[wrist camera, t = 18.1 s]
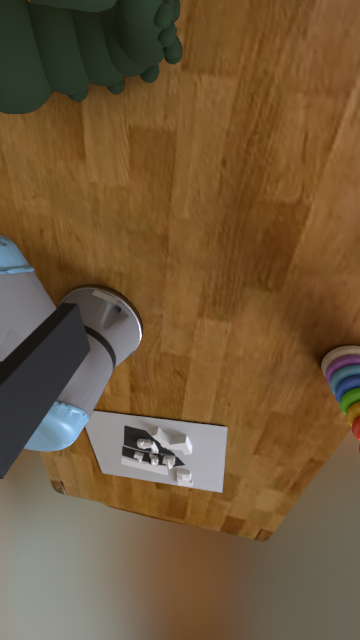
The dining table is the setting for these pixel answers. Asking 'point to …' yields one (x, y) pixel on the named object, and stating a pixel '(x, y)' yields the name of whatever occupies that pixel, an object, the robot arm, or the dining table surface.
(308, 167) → the dining table surface
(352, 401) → the stacking toy
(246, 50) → the dining table surface
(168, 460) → the architectural model
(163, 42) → the toy figurine
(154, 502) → the dining table surface
